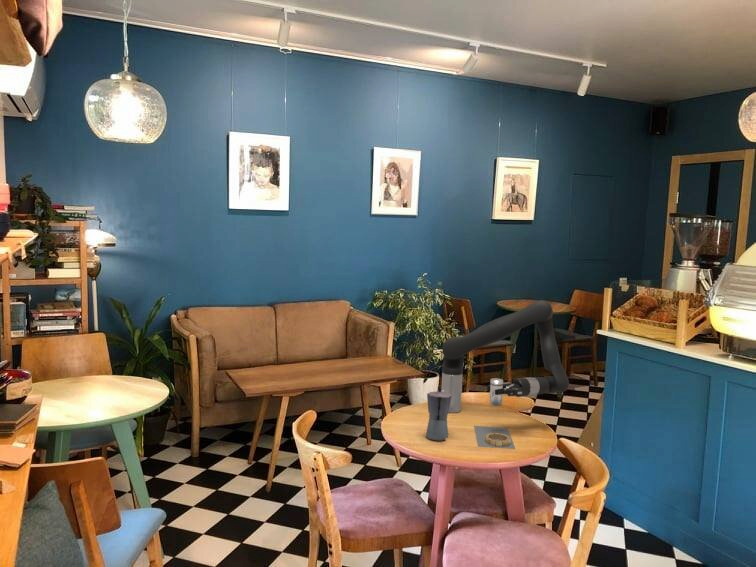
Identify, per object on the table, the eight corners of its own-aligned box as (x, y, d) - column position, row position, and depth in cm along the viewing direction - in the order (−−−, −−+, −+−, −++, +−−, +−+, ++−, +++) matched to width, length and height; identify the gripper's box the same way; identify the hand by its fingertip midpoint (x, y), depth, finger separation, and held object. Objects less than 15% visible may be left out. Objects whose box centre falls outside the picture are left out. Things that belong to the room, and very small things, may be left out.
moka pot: (447, 431, 240) (450, 383, 238) (451, 445, 225) (454, 394, 223) (424, 430, 240) (426, 382, 238) (426, 444, 225) (428, 393, 223)
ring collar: (486, 445, 223) (486, 440, 223) (484, 437, 232) (484, 432, 232) (511, 447, 222) (511, 442, 222) (508, 438, 231) (508, 433, 231)
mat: (477, 449, 222) (477, 446, 222) (473, 427, 246) (473, 425, 246) (515, 451, 221) (515, 449, 221) (507, 430, 245) (507, 427, 244)
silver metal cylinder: (490, 405, 236) (491, 381, 235) (488, 401, 241) (489, 378, 240) (503, 406, 235) (504, 381, 234) (501, 402, 240) (502, 378, 239)
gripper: (515, 373, 249) (481, 376, 242) (537, 382, 237) (502, 385, 229) (514, 391, 250) (480, 394, 243) (536, 400, 237) (501, 404, 230)
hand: (491, 390), depth 236 cm, fingers closed on silver metal cylinder, 5 cm apart
